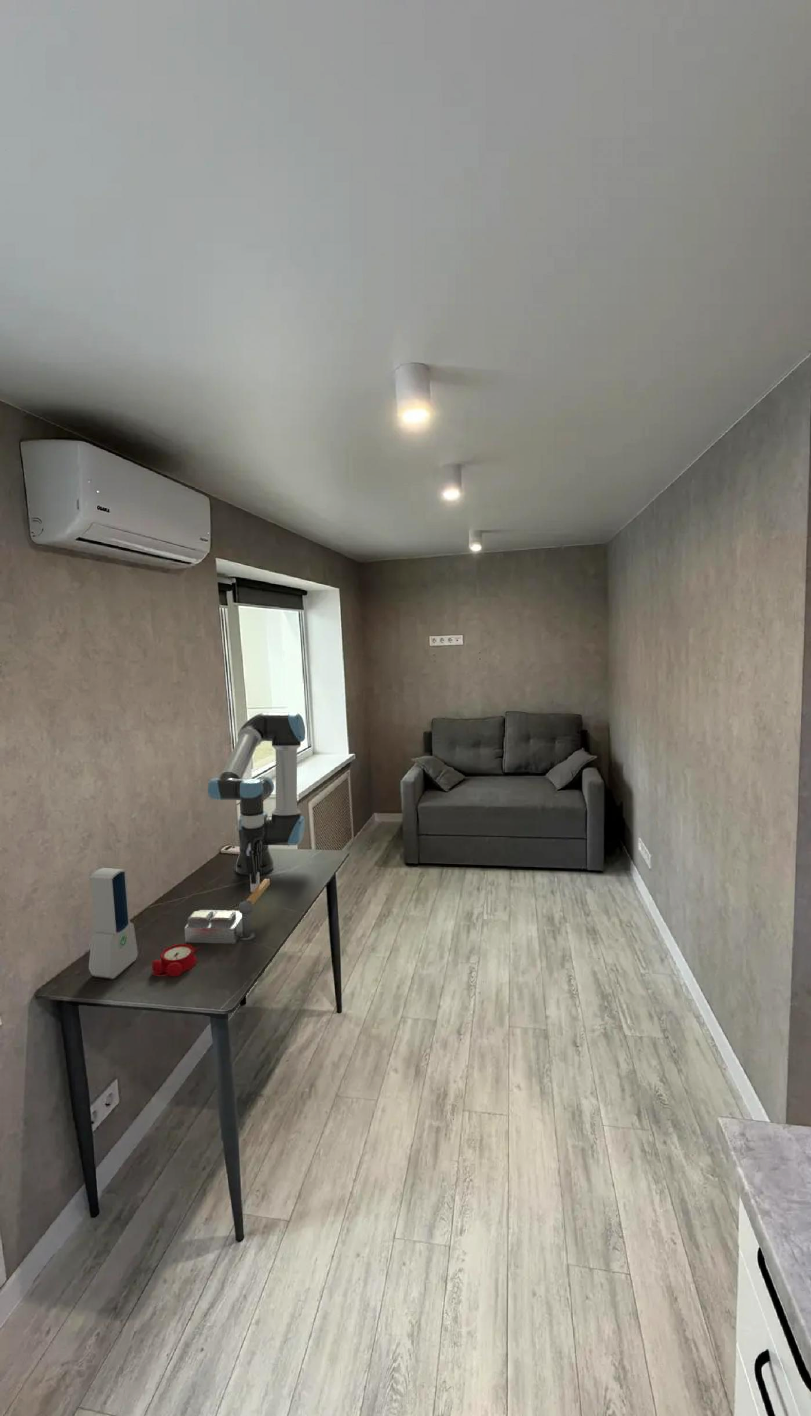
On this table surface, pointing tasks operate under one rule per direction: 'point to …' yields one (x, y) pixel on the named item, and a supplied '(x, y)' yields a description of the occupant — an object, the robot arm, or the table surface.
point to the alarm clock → (175, 960)
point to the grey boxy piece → (215, 927)
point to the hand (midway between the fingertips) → (255, 890)
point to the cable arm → (246, 907)
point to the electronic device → (111, 924)
